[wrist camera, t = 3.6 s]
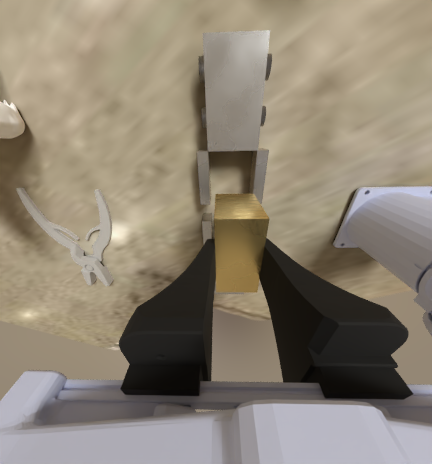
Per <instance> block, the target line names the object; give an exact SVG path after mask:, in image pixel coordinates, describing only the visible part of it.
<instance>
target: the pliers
mask: <svg viewBox="0 0 432 464" xmlns="http://www.w3.org/2000/svg"><path fill="white" fill-rule="evenodd" d="M16 190H17V192H18V194H19V197H20V199H21V200H22V202H23V204H24V206H25V207H26V209H27V210H28V212H29V213H30V215H31V216H32V217H33V219H34V220H35V221H36V222H37V223H38V224H39V225H40V226H41V227H42V229H43V230H44V231H45V232H46V233H48V234H49V235H50V236H51V237H52V238H53V239H55V240H56V241H57V242H59V243H60V244H62V245H63V246H65V247H67V248H69V249H70V252H71V256H72V259H73V260H74V261H75V262H76V264H78V265H80V266H82V267H83V268H82V270H81V272H82V274H83V276H84V278H85V280H86V282H87V285H93V283H94V282H95V281H96V276H97V277H98V278H99V279H100V280H101V281H102V283H103V284H104V285H105V286H109V285H110V284H111V283H112V281H113V280H114V279H113V277H112V275H111V274H110V272H109V270H108V268H107V266H103V265H102V264H101V263H100V262H101V261H102V260H103V251H104V248H105V247H106V246H107V245H108V243H109V241H110V239H111V234H112V221H111V216H110V212H109V208H108V205H107V203H106V201H105V198H104V196H103V194H102V193H101V191H100V190H94V192H95V196H96V200H97V204H98V209H99V215H100V224H99V225H98V226H96V227H94V228H92V229H91V230H90V231H89V232H88V234H87V236H86V239H85V240H89V238H90V235H91V233H92V232H93V231H95V230H100V233H99V236H98V238H97V239H96V241H95V242H94V244H93V245H92V246H93V254H92V255H88V256H84V250H83V249H82V248H81V247H80V245H79V244H78V243H76V242H75V241H73V240H72V239H70V238H68V237H67V236H66V235H64V234H63V233H61V232H60V231H59V230H61V231H63V232H65V233H67V234H69V235H70V236H72V237H73V238H74V239H75V240H78V239H79V237H78V236H76V235H75V234H74V233H73V232H71V231H70V230H68V229H66V228H64V227H62V226H59V225H56V224H54V223H52V222H50V221H49V220H48V219H47V218H46V217H45V216H44V215H43V214H42V212H41V211H40V210H39V209H38V207H37V206H36V205H35V203H34V202H33V201H32V199H31V198H30V197H29V195H28V194H27V192H26V191H25V189H24V188H16Z"/></svg>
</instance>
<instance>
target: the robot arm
mask: <svg viewBox="0 0 432 464" xmlns="http://www.w3.org/2000/svg"><path fill="white" fill-rule="evenodd" d="M366 191H367V192H366ZM365 192H366V193H365ZM333 245H334V246H335V247H336V248H361V249H362V250H363V251H365V252H366V253H367V254H368V255H370V256H371V257H372V258H373V259H375V260H376V261H377V262H379V263H380V264H381V265H382V266H384V267H385V268H386V269H387V270H389V271H390V272H391V273H393V274H394V275H395V276H396V277H398V278H399V279H400V280H401V281H403V282H404V283H405V284H407V285H408V286H409V287H410V288H412V289H413V290H414V291H415V292H417V293H418V295H417V296H416V298H415V299H414V301H415V302H416V303H417V304H419V305H420V306H421V307H422V308H423V309H424V310H426V312H425V313H424V314H423V322H424V324H425V326H426V328H427V330H428V331H429V333H430V334H431V335H432V186H412V187H361V188H359V189H357V190H356V192H355V194H354V197H353V199H352V201H351V204H350V206H349V208H348V211H347V213H346V215H345V218H344V220H343V222H342V225H341V227H340V229H339V231H338V234H337V236H336V238H335V241H334V243H333ZM259 279H260V282H261V285H262V288H263V291H264V294H265V297H266V300H267V303H268V306H269V310H270V315H271V319H272V323H273V328H274V333H275V338H276V343H277V348H278V353H279V359H280V365H281V369H282V377H283V383H282V382H280V383H279V382H214V381H211V362H212V318H213V300H214V291H215V283H216V254H215V239H207V240H206V242H205V244H204V246H203V247H202V249H201V251H200V252H199V254H198V255H197V257H196V258H195V259H194V261H193V262H192V263H191V264H190V266H189V267H188V268H187V269H186V270H185V271H184V272H183V273H182V274H181V275H180V276H179V277H178V278H177V279H176V280H175V281H174V282H173V283H171V284H170V285H169V286H168V287H167V288H165V289H164V290H163V291H161V292H160V293H159V294H157V295H156V296H154V297H153V298H151V299H150V300H148V301H147V302H145V303H143V304H142V305H140V306H139V307H137V309H136V310H135V312H134V314H133V315H132V317H131V318H130V320H129V322H128V324H127V326H126V328H125V330H124V332H123V334H122V336H121V338H120V340H119V347H120V349H121V352H122V353H123V354H124V356H125V358H126V359H127V361H128V362H129V364H130V365H129V368H128V370H127V373H126V376H125V379H124V380H81V379H67V378H66V376H65V375H64V374H62V373H60V372H57V371H51V370H28V371H25V372H24V373H23V374H22V376H21V377H20V378H19V379H18V380H17V382H16V383H15V384H14V385H13V386H12V388H11V389H10V390H9V391H8V392H7V394H6V395H5V396H4V397H3V399H2V400H1V401H0V464H432V385H414V384H406V383H405V382H404V381H403V379H402V378H401V377H400V375H399V374H398V373H397V372H396V370H395V369H394V368H397V367H398V365H397V363H396V362H395V361H394V359H393V358H392V357H391V354H392V353H394V352H395V351H396V350H397V349H398V348H399V347H400V346H402V345H403V344H404V342H405V341H406V340H407V338H408V330H407V328H405V326H404V325H403V324H401V322H400V321H399V320H398V319H397V318H396V317H395V316H394V315H393V314H392V313H391V312H390V311H389V310H388V309H387V308H385V307H383V306H380V305H378V304H375V303H373V302H370V301H368V300H365V299H363V298H360V297H358V296H356V295H354V294H351V293H349V292H347V291H345V290H343V289H341V288H339V287H337V286H335V285H333V284H331V283H329V282H327V281H325V280H323V279H321V278H320V277H318V276H316V275H315V274H313V273H311V272H310V271H308V270H307V269H305V268H304V267H302V266H301V265H299V264H298V263H297V262H295V261H294V260H292V259H291V258H290V257H289V256H287V255H286V254H285V253H284V252H282V251H281V250H280V249H279V248H278V247H277V246H276V245H274V244H273V243H272V242H271V241H270V240H269V239H267V238H266V242H265V246H264V252H263V258H262V264H261V270H260V276H259ZM195 409H211V410H219V411H207V412H196V411H195Z"/></svg>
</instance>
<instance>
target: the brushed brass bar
mask: <svg viewBox="0 0 432 464" xmlns="http://www.w3.org/2000/svg"><path fill="white" fill-rule="evenodd" d="M268 224H269V217H268V216H267V214H266V213H265V211H264V209H263V208H262V206H261V204H260V203H259V201H258V199H257V198H256V196H255V195H254V194H216V197H215V214H214V230H215V254H216V292H257V290H258V284H259V276H260V270H261V264H262V258H263V252H264V246H265V242H266V236H267V230H268Z"/></svg>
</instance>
